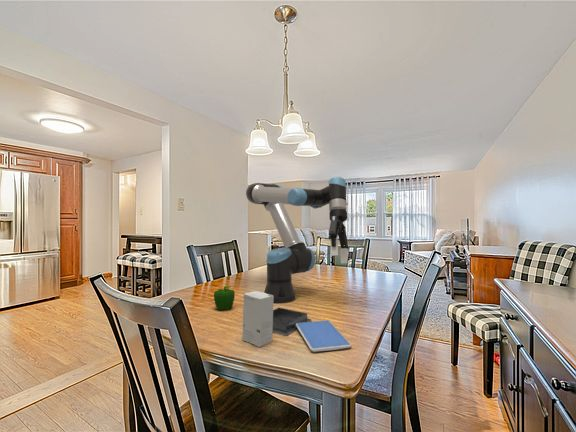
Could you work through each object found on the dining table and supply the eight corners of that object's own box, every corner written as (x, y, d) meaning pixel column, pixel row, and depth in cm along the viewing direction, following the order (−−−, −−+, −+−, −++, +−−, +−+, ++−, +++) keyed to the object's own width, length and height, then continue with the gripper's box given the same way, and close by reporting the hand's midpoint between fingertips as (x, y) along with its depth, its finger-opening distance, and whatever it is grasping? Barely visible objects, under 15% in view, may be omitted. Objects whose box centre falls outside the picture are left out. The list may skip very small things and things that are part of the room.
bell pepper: (210, 309, 125) (210, 285, 125) (226, 304, 131) (226, 282, 131) (221, 313, 119) (221, 288, 119) (238, 308, 125) (237, 285, 125)
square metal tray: (252, 326, 104) (251, 318, 104) (278, 313, 118) (278, 306, 118) (286, 336, 96) (286, 326, 96) (311, 321, 109) (311, 313, 109)
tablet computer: (295, 326, 102) (295, 322, 102) (329, 322, 105) (329, 319, 105) (311, 354, 83) (311, 349, 83) (352, 349, 86) (352, 344, 86)
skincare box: (242, 340, 93) (241, 293, 93) (255, 334, 97) (255, 289, 97) (260, 348, 87) (260, 298, 87) (274, 341, 92) (274, 294, 92)
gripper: (338, 198, 114) (339, 250, 106) (353, 220, 135) (356, 265, 127) (320, 200, 117) (320, 252, 109) (338, 222, 138) (339, 266, 130)
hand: (339, 259), depth 118 cm, fingers open, 13 cm apart
